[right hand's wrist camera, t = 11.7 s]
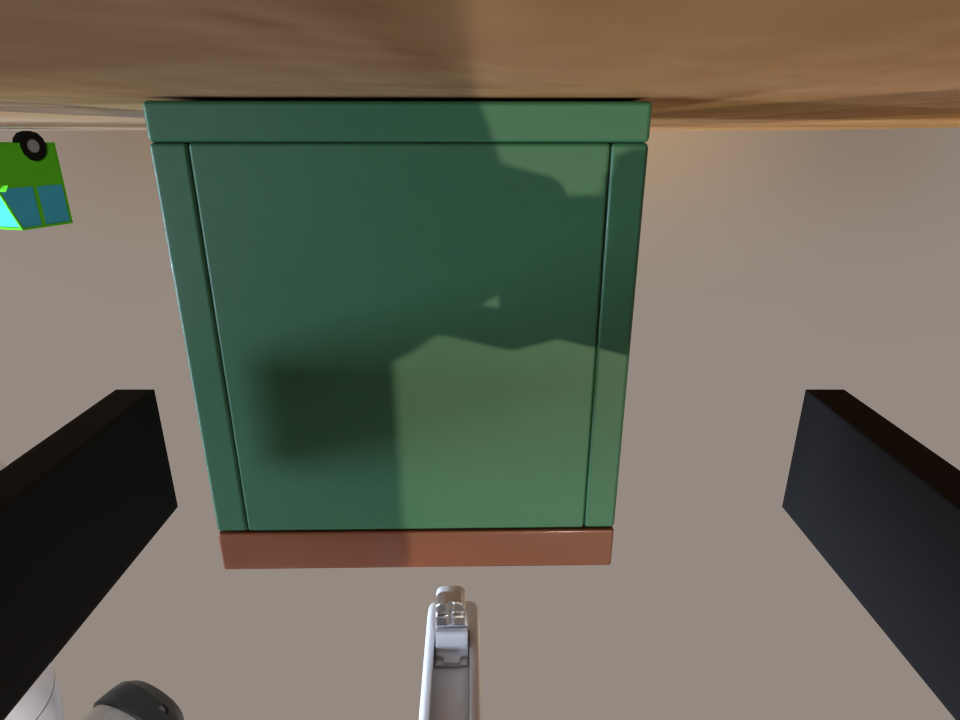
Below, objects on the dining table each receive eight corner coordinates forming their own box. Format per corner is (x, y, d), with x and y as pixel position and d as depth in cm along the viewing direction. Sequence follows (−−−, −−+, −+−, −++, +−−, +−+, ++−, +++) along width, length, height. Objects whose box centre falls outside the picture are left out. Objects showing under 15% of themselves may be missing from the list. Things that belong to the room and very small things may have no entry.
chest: (549, 119, 26) (541, 332, 29) (325, 119, 26) (342, 333, 29) (653, 101, 11) (614, 527, 15) (139, 99, 11) (216, 532, 15)
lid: (539, 327, 30) (533, 490, 33) (346, 328, 30) (358, 492, 33) (614, 529, 15) (590, 794, 18) (217, 534, 15) (264, 800, 18)
